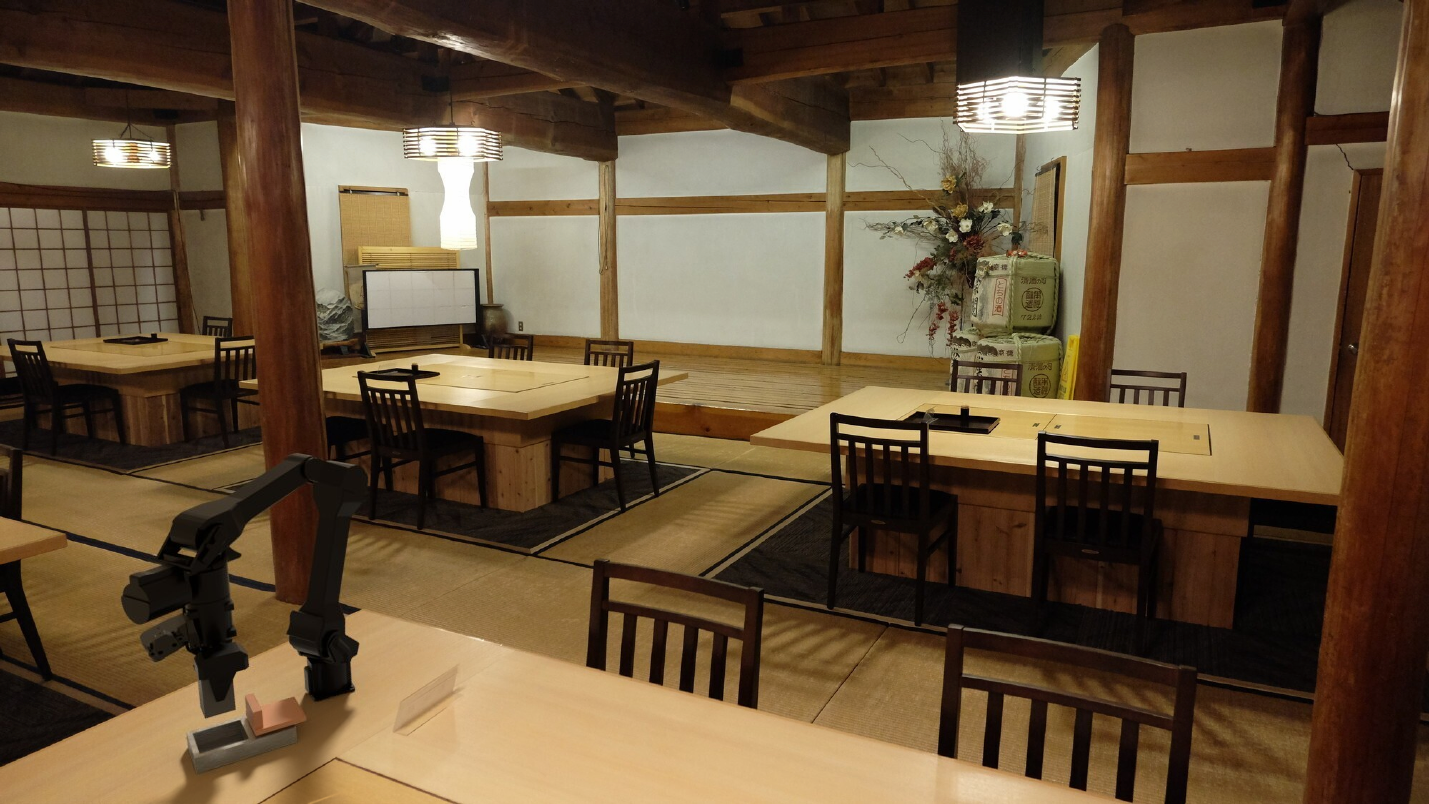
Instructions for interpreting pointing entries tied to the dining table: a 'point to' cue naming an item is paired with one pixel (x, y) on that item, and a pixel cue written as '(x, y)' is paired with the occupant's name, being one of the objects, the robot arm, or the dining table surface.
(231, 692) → the plug
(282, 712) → the salmon l-shaped block
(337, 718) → the dining table surface
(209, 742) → the grey rectangular box
